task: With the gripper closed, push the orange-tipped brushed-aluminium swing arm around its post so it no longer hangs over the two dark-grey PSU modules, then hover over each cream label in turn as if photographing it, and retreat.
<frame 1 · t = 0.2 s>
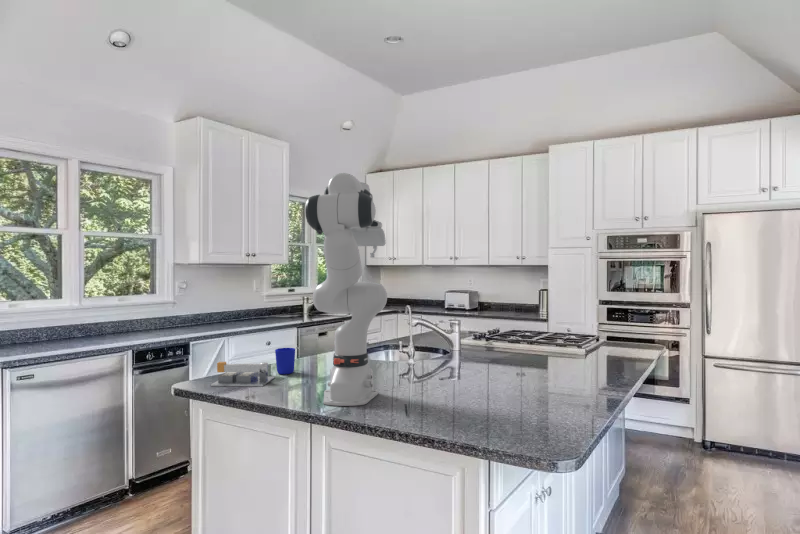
hand: (360, 257, 209), 48 cm above the counter, fingers open, 8 cm apart
mug: (287, 372, 216), on the counter
chassis plate: (243, 381, 199), on the counter
swing arm: (243, 366, 199), point 6 cm above the counter, hinge at 0.0°
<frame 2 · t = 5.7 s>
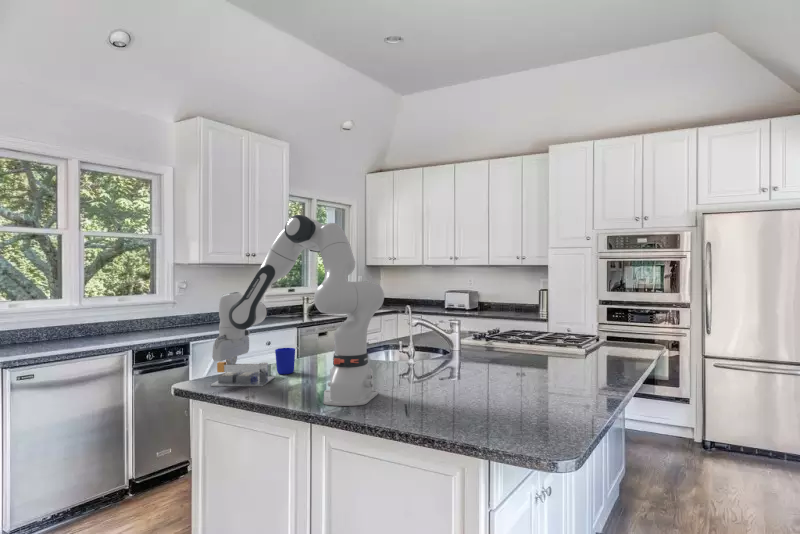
hand: (231, 368, 202), 5 cm above the counter, fingers closed
swing arm: (243, 366, 199), point 6 cm above the counter, hinge at 0.0°, touching gripper
everything else where it was.
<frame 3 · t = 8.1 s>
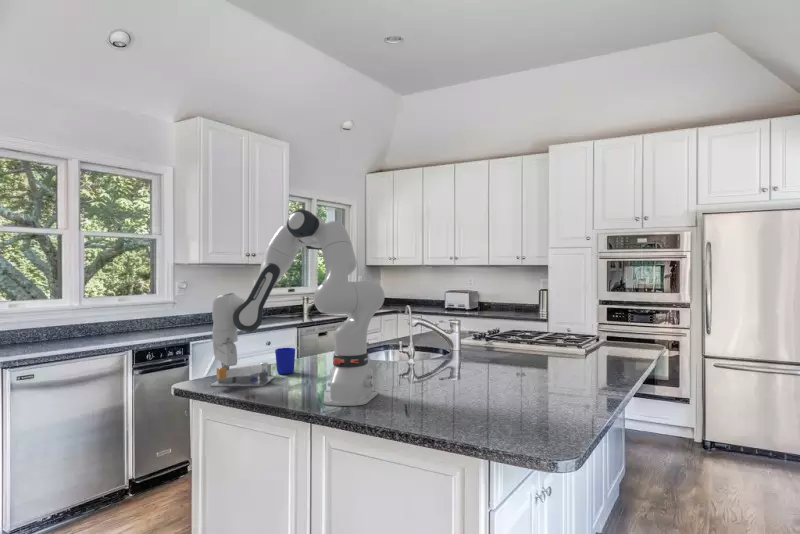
hand: (225, 374, 191), 5 cm above the counter, fingers closed
swing arm: (243, 369, 193), point 6 cm above the counter, hinge at 44.3°, touching gripper
everything else where it was.
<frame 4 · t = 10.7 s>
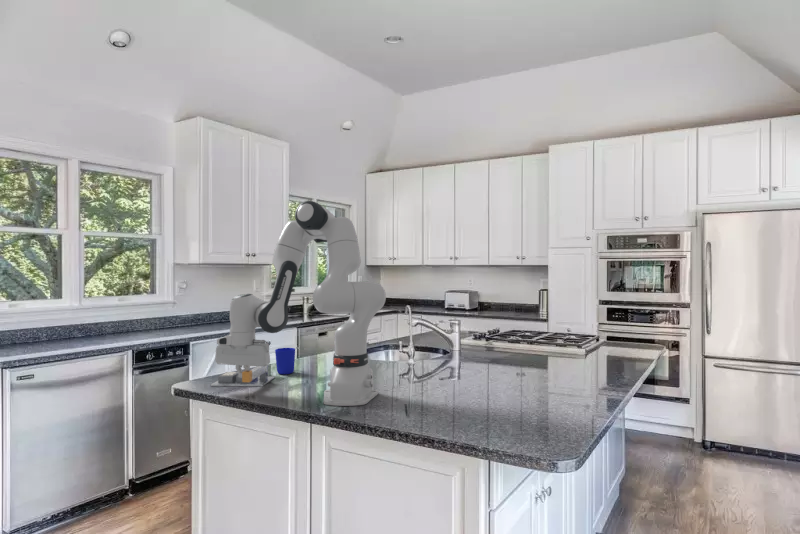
hand: (242, 377, 185), 5 cm above the counter, fingers closed
swing arm: (255, 371, 191), point 6 cm above the counter, hinge at 88.7°, touching gripper
everything else where it was.
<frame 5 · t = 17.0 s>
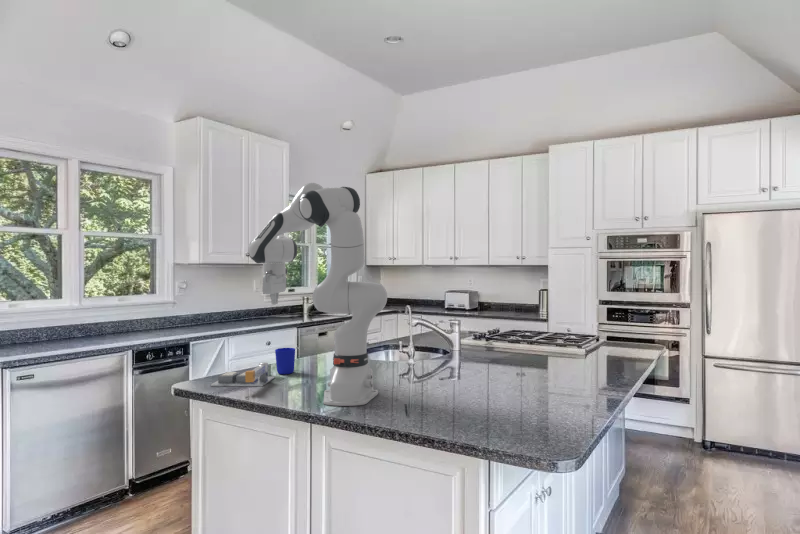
hand: (274, 304, 210), 29 cm above the counter, fingers closed
swing arm: (257, 371, 190), point 6 cm above the counter, hinge at 92.5°
everything else where it was.
at the end: swing arm at +92° (first picture: +0°); mug moved 0.2 cm from its start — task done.
